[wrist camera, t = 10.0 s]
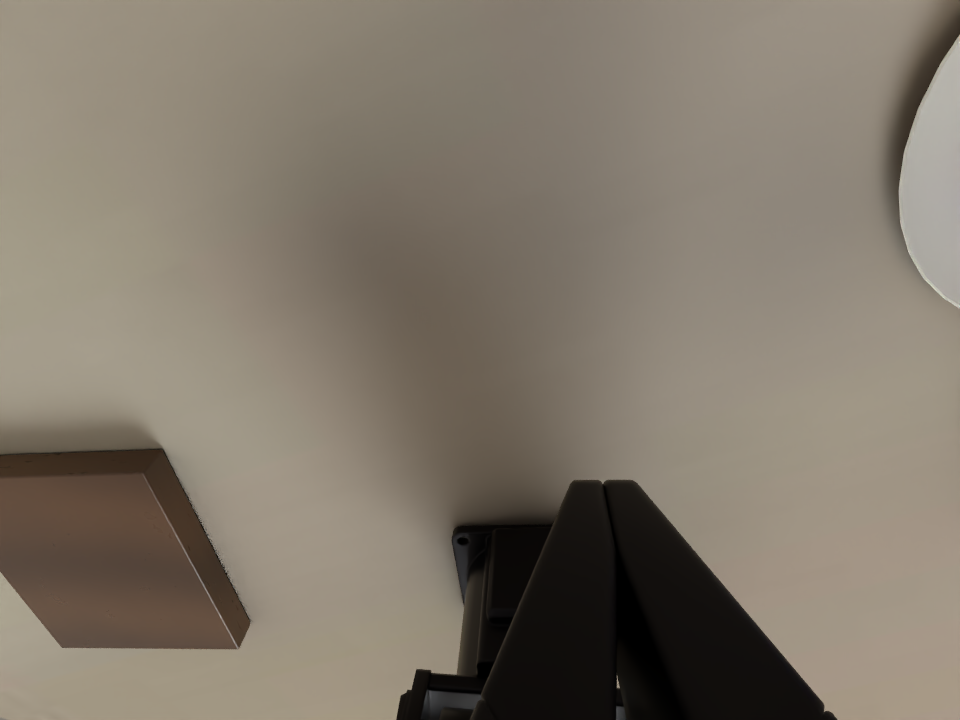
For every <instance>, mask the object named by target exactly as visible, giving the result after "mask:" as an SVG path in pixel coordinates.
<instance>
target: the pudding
mask: <svg viewBox="0 0 960 720" xmlns="http://www.w3.org/2000/svg"><path fill="white" fill-rule="evenodd" d="M899 208H900V224H901V228H902V231H903V235H904V238H905V242H906V245H907V249H908V252H909V255H910V256H911V258H912V260H913V261H914V263H915V265H916V267H917V268H918V270H919V272H920V273H921V275H922V277H923V279H924V280H925V281H926V282H927V283H928V284H929V285H930V286H931V287H932V288H933V289H934V290H935V291H936V292H937V293H938V294H939V295H940V296H941V297H942V298H943V299H945V300H947V301H948V302H950V303H952V304H953V305H955V306H957V307H958V308H960V35H959V37H958V38H957V40H956V41H955V43H954V44H953V46H952V47H951V49H950V50H949V52H948V53H947V55H946V56H945V58H944V59H943V61H942V62H941V64H940V65H939V68H938V70H937V72H936V74H935V76H934V78H933V80H932V82H931V84H930V86H929V88H928V90H927V92H926V94H925V96H924V98H923V100H922V102H921V104H920V106H919V108H918V110H917V113H916V116H915V119H914V123H913V126H912V129H911V132H910V135H909V138H908V141H907V144H906V147H905V150H904V156H903V163H902V169H901V176H900V183H899Z"/></svg>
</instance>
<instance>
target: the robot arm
mask: <svg viewBox="0 0 960 720" xmlns="http://www.w3.org/2000/svg"><path fill="white" fill-rule="evenodd" d="M462 537H465V538H462ZM452 545H453V551H454V556H455V561H456V566H457V572H458V577H459V582H460V587H461V592H462V598H463V603H464V614H463V623H462V633H461V642H460V651H459V660H458V669H457V675H451V674H438V673H431V670H423V669H417V670H416V674H415V678H414V682H413V686H412V690H407V693H405V694H403V695H401V698H400V703H399V708H398V714H397V719H396V720H837V718H836V717H835V716H834V715H833V714H832V713H831V712H829V711H825V712H824V704H823V702H822V701H821V700H820V699H819V698H818V696H817V695H816V694H815V693H814V692H813V691H812V689H811V688H810V687H809V686H808V685H807V683H806V682H805V681H804V680H803V679H802V678H801V676H800V675H799V674H798V673H797V672H796V670H795V669H794V668H793V667H792V666H791V665H790V663H789V662H788V661H787V660H786V659H785V657H784V656H783V655H782V654H781V653H780V651H779V650H778V649H777V648H776V647H775V646H774V644H773V643H772V642H771V641H770V640H769V638H768V637H767V636H766V635H765V634H764V633H763V631H762V630H761V629H760V628H759V627H758V625H757V624H756V623H755V622H754V621H753V620H752V618H751V617H750V616H749V615H748V614H747V612H746V611H745V610H744V609H743V608H742V607H741V605H740V604H739V603H738V602H737V601H736V599H735V598H734V597H733V596H732V595H731V594H730V592H729V591H728V590H727V589H726V588H725V586H724V585H723V584H722V583H721V582H720V581H719V579H718V578H717V577H716V576H715V575H714V573H713V572H712V571H711V570H710V569H709V568H708V566H707V565H706V564H705V563H704V562H703V560H702V559H701V558H700V557H699V556H698V555H697V553H696V552H695V551H694V550H693V549H692V547H691V546H690V545H689V544H688V543H687V542H686V540H685V539H684V538H683V537H682V536H681V534H680V533H679V532H678V531H677V530H676V529H675V527H674V526H673V525H672V524H671V523H670V521H669V520H668V519H667V518H666V517H665V516H664V514H663V513H662V512H661V511H660V510H659V508H658V507H657V506H656V505H655V504H654V503H653V501H652V500H651V499H650V498H649V497H648V495H647V494H646V493H645V492H644V491H643V490H642V488H641V487H640V486H639V485H638V484H637V483H636V482H635V481H633V480H606V481H605V482H604V484H602V482H601V481H599V480H574V481H573V482H572V483H571V484H570V486H569V488H568V490H567V493H566V495H565V497H564V500H563V502H562V504H561V507H560V509H559V512H558V514H557V516H556V519H555V521H554V523H553V524H547V525H491V526H460V527H457V528H455V529H454V531H453V535H452ZM617 676H618V681H619V686H620V688H617Z"/></svg>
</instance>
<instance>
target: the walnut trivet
mask: <svg viewBox="0 0 960 720" xmlns="http://www.w3.org/2000/svg"><path fill="white" fill-rule="evenodd" d="M0 572H1V573H2V575H3V576H4V577H5V578H6V579H7V581H8V582H9V583H10V584H11V586H12V587H13V588H14V589H15V591H16V592H17V593H18V594H19V595H20V597H21V598H22V599H23V600H24V602H25V603H26V604H27V605H28V607H29V608H30V609H31V610H32V612H33V613H34V614H35V615H36V616H37V618H38V619H39V620H40V621H41V623H42V624H43V625H44V626H45V628H46V629H47V630H48V631H49V632H50V634H51V635H52V636H53V637H54V639H55V640H56V641H57V642H58V644H59V645H60V646H61V647H62V648H152V649H239V648H240V646H241V643H242V641H243V639H244V637H245V635H246V632H247V630H248V628H249V626H250V621H249V619H248V617H247V615H246V613H245V611H244V609H243V607H242V605H241V603H240V601H239V599H238V597H237V595H236V593H235V592H234V590H233V588H232V586H231V584H230V582H229V580H228V578H227V576H226V574H225V572H224V570H223V568H222V566H221V564H220V562H219V560H218V558H217V556H216V554H215V552H214V550H213V548H212V546H211V544H210V542H209V540H208V538H207V536H206V534H205V532H204V530H203V528H202V527H201V525H200V523H199V521H198V519H197V517H196V515H195V513H194V511H193V509H192V507H191V505H190V503H189V501H188V499H187V497H186V495H185V493H184V491H183V489H182V487H181V485H180V483H179V481H178V479H177V477H176V475H175V473H174V471H173V469H172V467H171V465H170V463H169V461H168V460H167V458H166V456H165V454H164V452H163V450H136V451H109V452H81V453H53V454H26V455H0Z"/></svg>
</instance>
